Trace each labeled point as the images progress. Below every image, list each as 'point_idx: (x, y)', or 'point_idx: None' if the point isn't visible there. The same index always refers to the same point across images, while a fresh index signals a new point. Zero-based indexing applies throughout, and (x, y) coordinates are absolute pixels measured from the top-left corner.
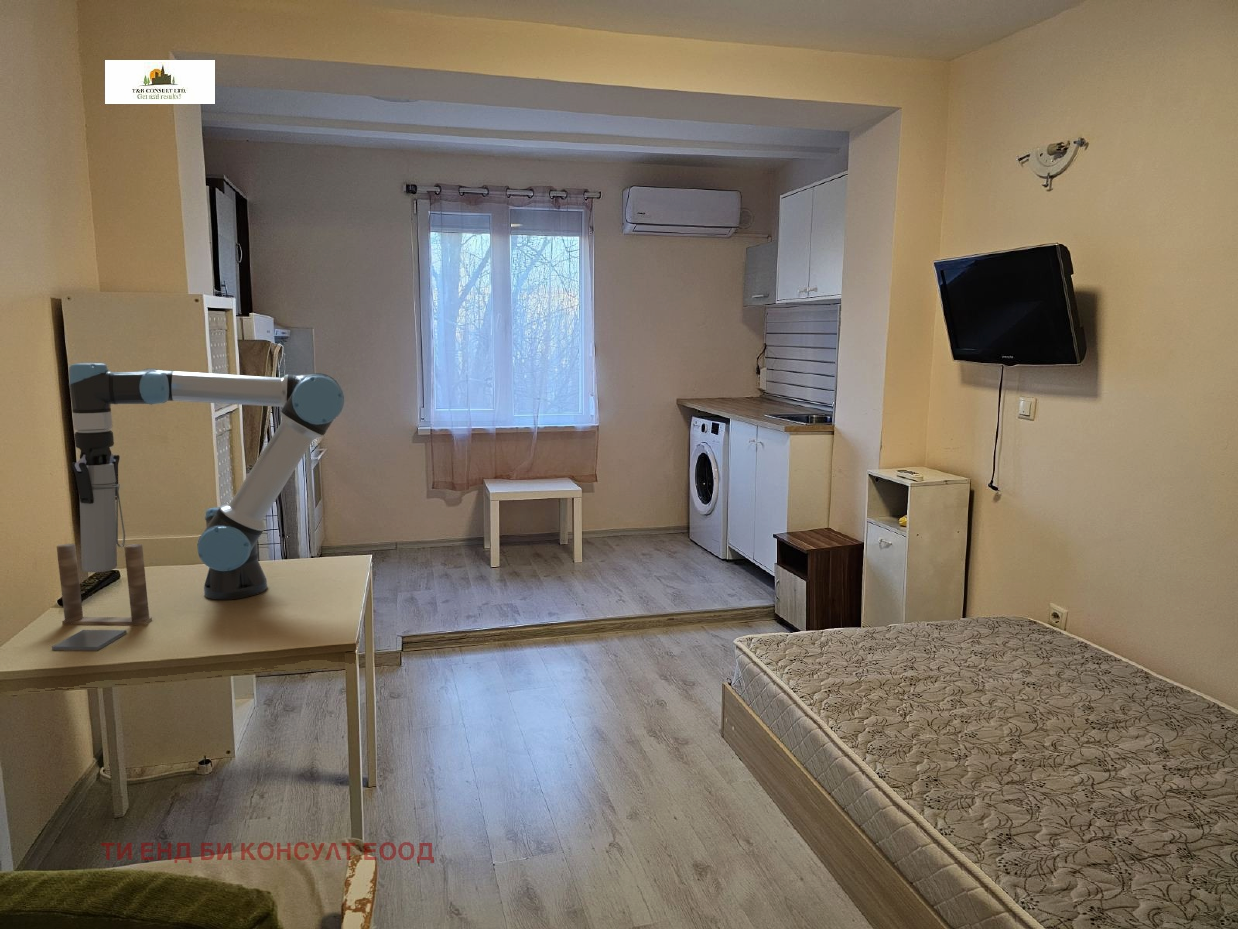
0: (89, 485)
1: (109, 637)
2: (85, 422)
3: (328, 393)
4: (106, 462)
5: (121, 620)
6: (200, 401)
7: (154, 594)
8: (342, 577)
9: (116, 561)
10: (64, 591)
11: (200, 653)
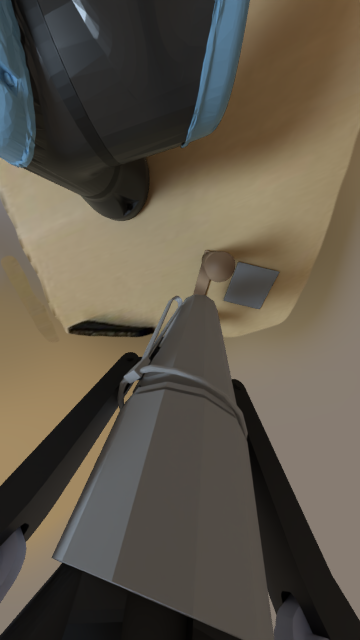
0: (262, 447)
1: (255, 270)
2: None
3: None
4: (117, 625)
5: (206, 277)
6: None
7: (126, 277)
8: None
9: (196, 295)
10: None
11: (357, 131)
